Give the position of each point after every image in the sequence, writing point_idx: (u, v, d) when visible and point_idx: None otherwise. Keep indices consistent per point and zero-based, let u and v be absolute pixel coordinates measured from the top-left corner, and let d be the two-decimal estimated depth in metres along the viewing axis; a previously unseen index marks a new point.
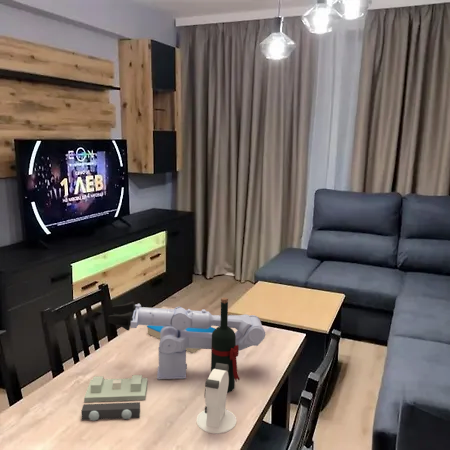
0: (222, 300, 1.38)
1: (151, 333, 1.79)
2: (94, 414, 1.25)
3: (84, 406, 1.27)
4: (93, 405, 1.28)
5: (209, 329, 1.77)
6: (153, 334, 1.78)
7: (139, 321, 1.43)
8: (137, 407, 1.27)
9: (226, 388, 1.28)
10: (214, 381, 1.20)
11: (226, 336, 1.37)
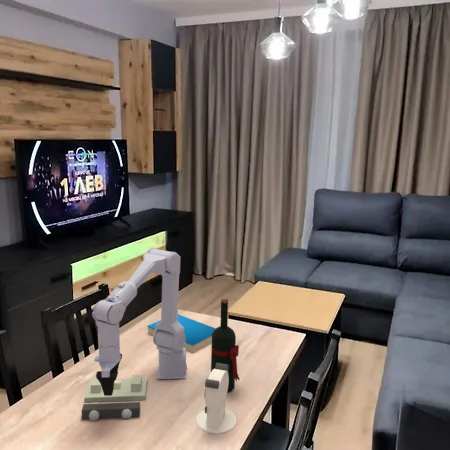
0: (222, 300, 1.38)
1: (151, 333, 1.79)
2: (94, 413, 1.25)
3: (84, 406, 1.28)
4: (93, 405, 1.28)
5: (209, 329, 1.78)
6: (153, 334, 1.78)
7: (110, 360, 1.22)
8: (137, 407, 1.28)
9: (226, 388, 1.28)
10: (214, 381, 1.20)
11: (226, 336, 1.37)
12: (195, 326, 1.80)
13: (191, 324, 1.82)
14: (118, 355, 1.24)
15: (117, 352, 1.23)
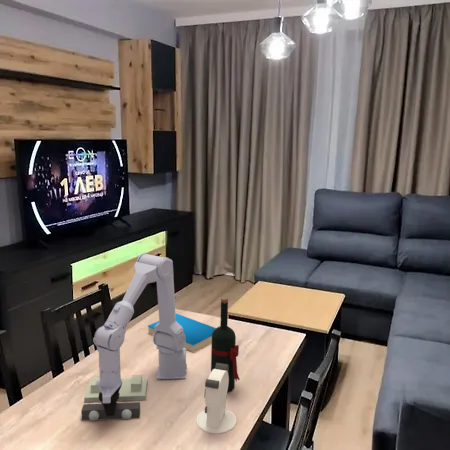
0: (222, 300, 1.37)
1: (152, 333, 1.79)
2: (94, 413, 1.25)
3: (84, 406, 1.27)
4: (93, 405, 1.28)
5: (210, 329, 1.78)
6: None
7: (111, 385, 1.23)
8: (137, 407, 1.27)
9: (226, 388, 1.28)
10: (214, 381, 1.20)
11: (226, 336, 1.37)
12: (195, 326, 1.80)
13: (191, 324, 1.82)
14: (119, 380, 1.25)
15: (118, 377, 1.24)
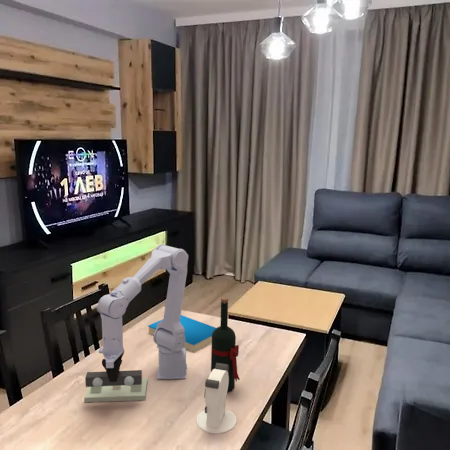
0: (222, 300, 1.37)
1: (152, 333, 1.79)
2: (98, 380, 1.30)
3: (88, 373, 1.32)
4: (96, 373, 1.32)
5: (210, 328, 1.78)
6: None
7: (114, 351, 1.28)
8: (139, 374, 1.32)
9: (226, 388, 1.28)
10: (214, 381, 1.20)
11: (226, 336, 1.37)
12: (195, 326, 1.80)
13: (192, 324, 1.82)
14: (121, 347, 1.30)
15: (120, 344, 1.29)
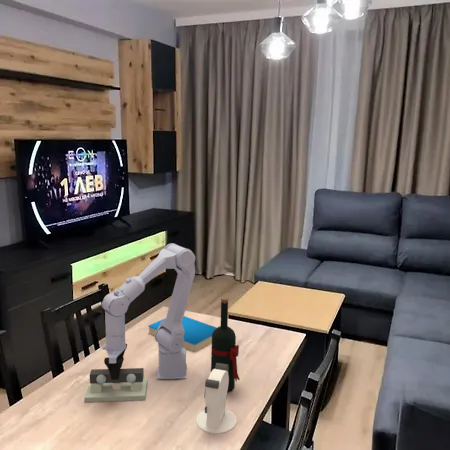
0: (222, 300, 1.37)
1: (153, 333, 1.79)
2: (101, 377, 1.36)
3: (92, 371, 1.38)
4: (100, 370, 1.39)
5: (211, 328, 1.78)
6: None
7: (116, 348, 1.34)
8: (141, 372, 1.38)
9: (226, 388, 1.28)
10: (214, 381, 1.20)
11: (226, 336, 1.37)
12: (196, 325, 1.80)
13: (192, 324, 1.82)
14: (124, 344, 1.36)
15: (123, 341, 1.35)
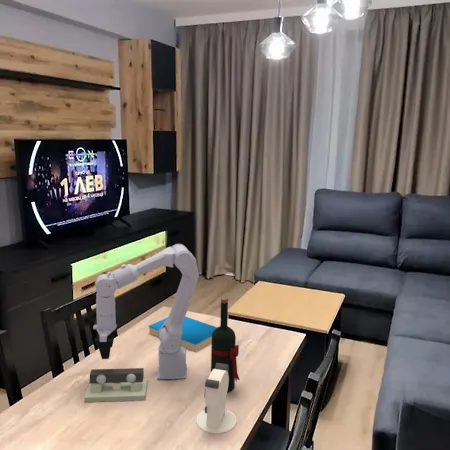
0: (222, 300, 1.37)
1: (153, 333, 1.79)
2: (101, 377, 1.36)
3: (92, 371, 1.38)
4: (100, 370, 1.39)
5: (211, 328, 1.78)
6: (155, 334, 1.78)
7: (107, 327, 1.38)
8: (141, 372, 1.38)
9: (226, 388, 1.28)
10: (214, 381, 1.20)
11: (226, 336, 1.37)
12: (196, 325, 1.81)
13: (192, 323, 1.82)
14: (114, 323, 1.40)
15: (113, 321, 1.39)
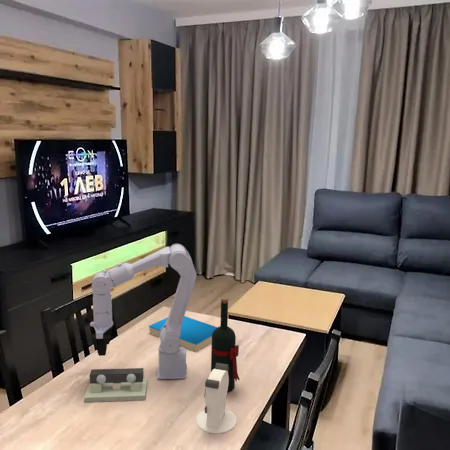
0: (222, 300, 1.37)
1: (153, 333, 1.79)
2: (101, 377, 1.36)
3: (92, 371, 1.38)
4: (100, 370, 1.39)
5: (211, 328, 1.79)
6: (155, 334, 1.78)
7: (103, 324, 1.40)
8: (141, 372, 1.38)
9: (226, 388, 1.28)
10: (214, 381, 1.20)
11: (226, 336, 1.37)
12: (196, 325, 1.81)
13: (192, 323, 1.82)
14: (110, 321, 1.42)
15: (109, 318, 1.42)
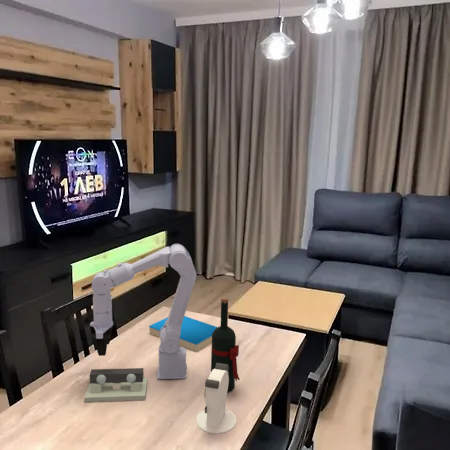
0: (222, 300, 1.37)
1: (153, 333, 1.79)
2: (101, 377, 1.36)
3: (92, 371, 1.38)
4: (100, 370, 1.39)
5: (211, 328, 1.79)
6: (155, 334, 1.78)
7: (103, 324, 1.40)
8: (141, 372, 1.38)
9: (226, 388, 1.28)
10: (214, 381, 1.20)
11: (226, 336, 1.37)
12: (196, 325, 1.81)
13: (192, 323, 1.82)
14: (110, 321, 1.42)
15: (109, 318, 1.42)
